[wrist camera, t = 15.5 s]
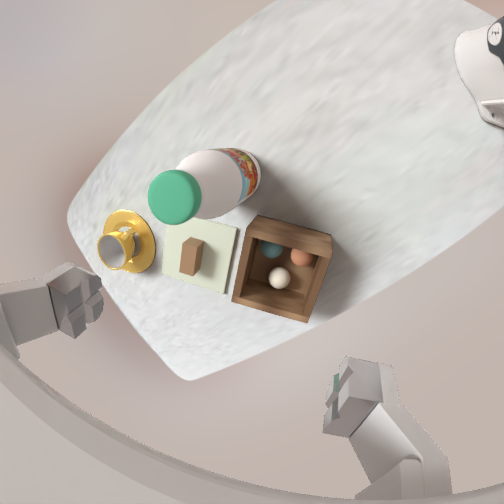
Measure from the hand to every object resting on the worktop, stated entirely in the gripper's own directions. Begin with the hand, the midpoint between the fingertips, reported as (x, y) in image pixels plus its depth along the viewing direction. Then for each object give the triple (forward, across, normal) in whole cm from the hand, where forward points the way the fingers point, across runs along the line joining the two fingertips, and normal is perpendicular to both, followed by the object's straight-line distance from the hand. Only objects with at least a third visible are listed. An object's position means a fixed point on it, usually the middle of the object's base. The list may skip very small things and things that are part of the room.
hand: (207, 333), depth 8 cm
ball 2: (+31, 0, +14) cm, 34 cm away
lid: (+34, +14, +15) cm, 40 cm away
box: (+34, 0, +12) cm, 36 cm away
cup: (+34, +27, +17) cm, 46 cm away
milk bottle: (+34, +9, +1) cm, 35 cm away
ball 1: (+31, +2, +10) cm, 33 cm away
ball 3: (+32, -3, +10) cm, 33 cm away
